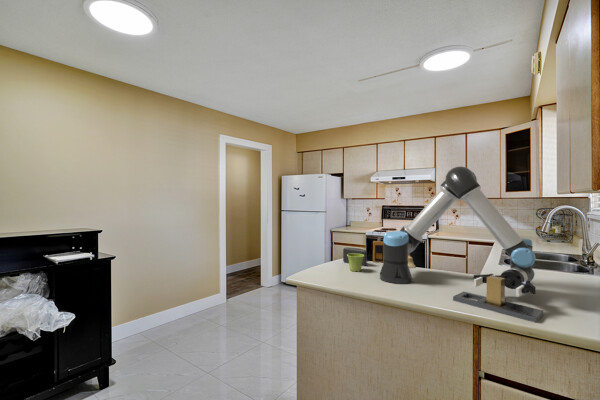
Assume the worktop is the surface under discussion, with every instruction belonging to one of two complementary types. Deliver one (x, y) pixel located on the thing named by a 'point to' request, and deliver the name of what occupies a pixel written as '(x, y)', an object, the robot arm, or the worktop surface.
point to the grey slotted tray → (507, 309)
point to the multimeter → (378, 250)
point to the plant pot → (355, 261)
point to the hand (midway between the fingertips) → (494, 287)
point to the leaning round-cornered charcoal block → (356, 251)
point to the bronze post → (495, 291)
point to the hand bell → (410, 261)
